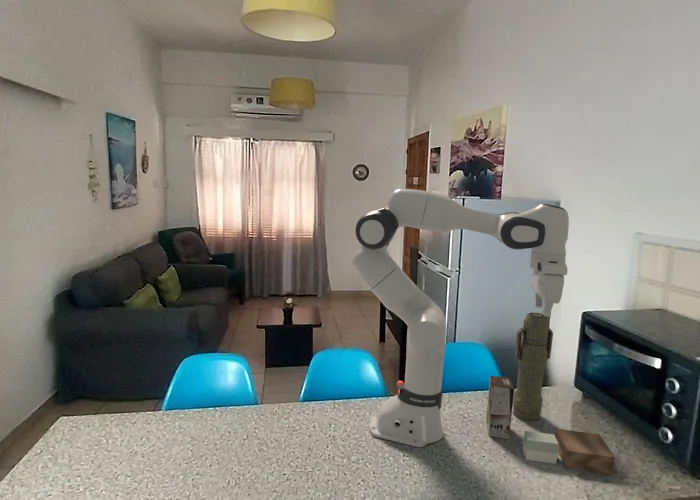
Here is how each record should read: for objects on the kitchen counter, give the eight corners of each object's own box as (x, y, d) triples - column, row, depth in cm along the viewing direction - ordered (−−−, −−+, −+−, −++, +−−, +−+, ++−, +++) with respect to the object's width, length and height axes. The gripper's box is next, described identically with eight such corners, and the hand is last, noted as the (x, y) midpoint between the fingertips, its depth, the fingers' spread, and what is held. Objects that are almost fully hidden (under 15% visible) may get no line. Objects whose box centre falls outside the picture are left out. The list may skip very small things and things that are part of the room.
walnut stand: (565, 467, 128) (567, 450, 128) (554, 444, 140) (556, 428, 139) (612, 474, 126) (614, 457, 126) (597, 449, 138) (599, 434, 137)
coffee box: (509, 439, 142) (515, 389, 139) (487, 436, 143) (492, 386, 141) (506, 424, 151) (510, 377, 148) (485, 421, 152) (489, 374, 150)
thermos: (503, 410, 160) (513, 311, 155) (533, 407, 163) (543, 310, 158) (518, 423, 152) (529, 318, 147) (549, 420, 155) (561, 318, 150)
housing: (526, 459, 132) (528, 439, 131) (522, 449, 136) (524, 430, 136) (556, 463, 130) (558, 443, 129) (551, 453, 135) (553, 434, 134)
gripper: (528, 256, 140) (523, 301, 142) (543, 268, 120) (538, 320, 122) (550, 258, 139) (545, 303, 141) (569, 270, 119) (563, 322, 121)
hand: (542, 311), depth 132 cm, fingers open, 8 cm apart
